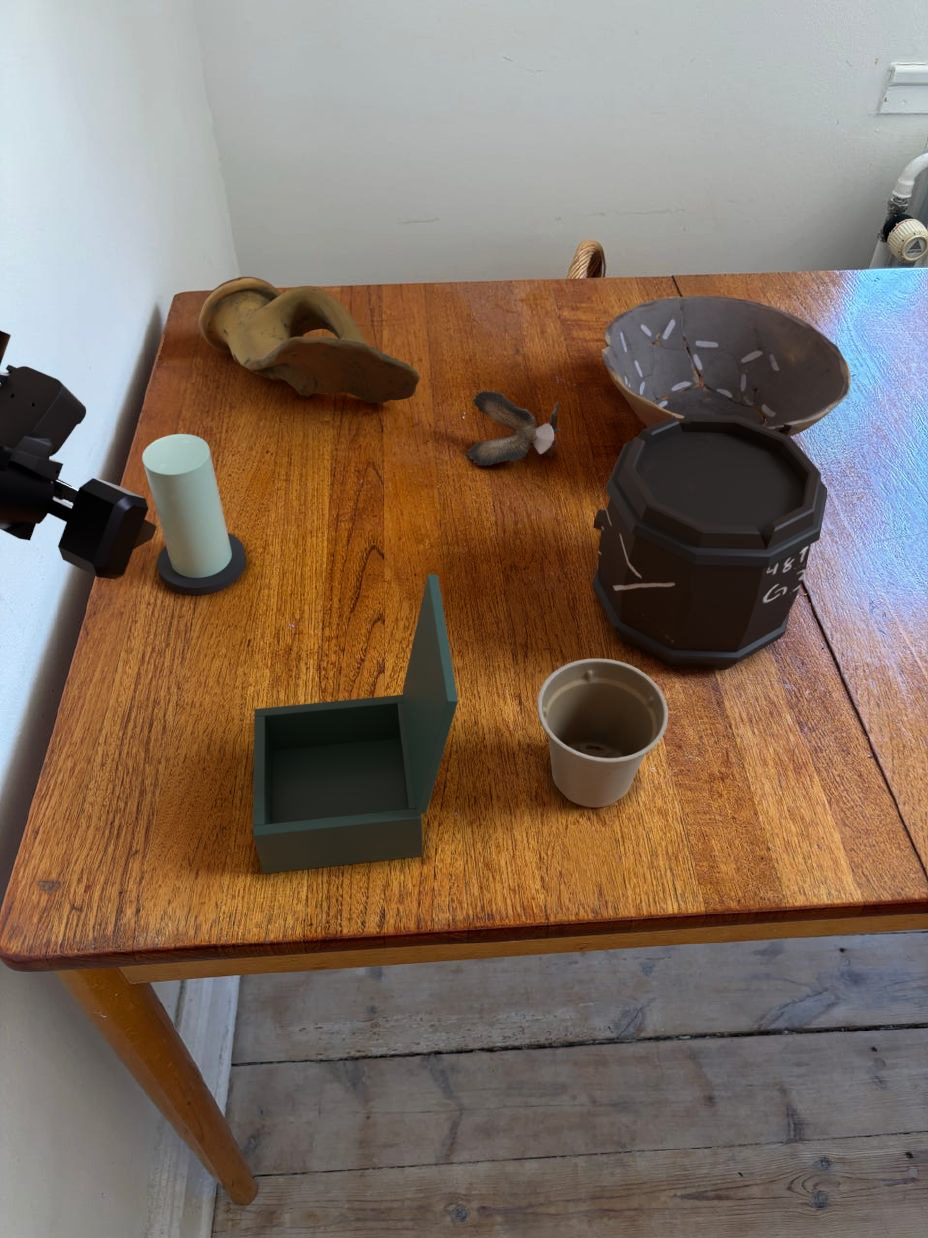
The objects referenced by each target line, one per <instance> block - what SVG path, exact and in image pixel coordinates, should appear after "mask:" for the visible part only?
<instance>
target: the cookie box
mask: <svg viewBox="0 0 928 1238" xmlns="http://www.w3.org/2000/svg"><path fill="white" fill-rule="evenodd" d="M253 713H254V714H253V715H254V718H253V720H254V723H253V725H254V727H253V799H252V804H253V805H252V806H253V807H252V810H253V811H252V812H253V813H252V837H253V841H254V844H255V848H256V852H257V855H258V860H259V863H260V866H261V871H262V873H263V874H264V875H266V874H274V873H275V874H276V873H284V872H292V871H293V872H294V871H301V870H311V869H317V868H318V869H319V868H320V869H321V868H326V867H327V868H328V867H336V866H347V865H356V864H364V863H365V864H366V863H372V862H381V861H391V860H399V859H400V860H401V859H409V858H410V859H411V858H417V857H419V858H420V857H423V856H424V847H423V843H424V842H423V818H422V814H417V811H416V803H415V794H414V786H413V777H412V768H411V760H410V751H409V743H408V734H407V725H406V717H405V708H404V700H403V694H395V695H383V696H374V697H363V698H353V699H343V700H332V701H322V702H321V701H320V702H313V703H312V702H310V703H301V704H292V705H291V704H289V705H280V706H279V705H278V706H269V707H260V708H254V711H253Z"/></svg>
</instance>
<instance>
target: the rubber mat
mask: <svg viewBox="0 0 928 1238" xmlns="http://www.w3.org/2000/svg"><path fill="white" fill-rule="evenodd" d="M228 537H229V542H230V546H231V551H232V556H231V560H230V562H229V563H228V565H227V566H226V567H225V568H224V569H223V570H221V571H220V572H218V573H216V574H214V575H211V576H208V577H203V578H190V577H186V576H183V575H180V574H179V573H177V572H176V571H175V570H174V569H173V567H172V565H171V562H170V558H169V555H168V551H167V547H166V545H164V547H162V549H161V551H160V552H159V555H158V558H157V570H158V572H159V576H160V580H161V581H162V582H163V583H164V584H165V586H167V587H168V588H169V589H171V590H172V591H174V592H177V593H179V594H183V595H188V596H202V595H209V594H213V593H218V592H219V591H222V590H224V589H226V588H228V587H230V586H231V585H233V584H234V583H235V582H237V580H238V579H240V577H241V576H242V574H243V573H244V571H245V568H246V564H247V557H246V551H245V547H244V544H243V543H242V542H241V541H240V539H239V538H238V537H236V536H235V535H234V534H232V533H230V532H228Z"/></svg>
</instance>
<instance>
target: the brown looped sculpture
mask: <svg viewBox="0 0 928 1238" xmlns="http://www.w3.org/2000/svg"><path fill="white" fill-rule="evenodd" d="M198 326H199V329H200V333H201V335H202V336H203V339H205V341H206V342H207V343H208V344H209V345H210V346H211V347H212V348H213V349H216V350H218V351H220V352H221V353H222V352H223V353H226V354H231V355H232V358H233V360H234V361H235V363H237V364H238V365H240V366H242V367H244V368H246V369H247V370H249V371H250V372H251V373H254V374H256V375H258V376H261V377H265V378H269V379H270V380H272V381H281V380H283V381H286V382H287V384H288V385H290V386H291V387H292V388H294V390H295V391H296V392H297V393H298V394H299V395H300V396H302V397H306V398H307V397H311V396H312V395H314V394H330V395H333V394H343V393H344V394H349V395H352V396H354V397H357V398H358V399H359V398H360V399H361V400H362V401H365V402H367V403H370V404H383V403H388V402H389V401H403V400H407V399H410V398H411V397H413V396H414V395H415V392H416V390H417V386H418V384H419V382H420V380H421V375H420V373H419V372H418V371H417V370H416V369H415V368H414V366H412V365H411V364H408V363H406V362H405V361H402V360H400V359H398V358H396V357H393V356H391V355H389V354H386V353H384V352H382V351H381V350H378V349H377V348H375V347H374V346H372V345H370V344H368V342H367V341H366V339H365V338H364V336H363V334H362V332H361V329H360V328H359V326H358V323H357V322H356V321H355V319H354V317H353V316H352V314H351V313H350V312H349V310H348V309H347V308H346V306H345V305H344V304H343V303H342V302H341V301H340V300H339V299H338V298H337V297H336V296H334V294H332V293H330V292H329V291H327V290H326V289H324V288H321V287H317V286H313V285H300V286H296V287H293V288H289V289H287V290H286V291H284V292H282V293H281V292H280V291H279V290H278V289H277V288H276V287H275V286H274V285H272V284H271V283H270V282H268V281H266V280H264V279H261V278H258V277H255V276H254V277H253V276H239V277H237V278H232V279H230V280H227V281H225V282H222V283H221V284H219V285H218V286H217V287H215V288H214V289H213V290H212V291H211V292H210V293H209V295H208V296H207V297H206V299H205V300H204V303H203V305H202V308H201V311H200V313H199V318H198ZM317 330H327V331H328V332H330V333H331V334H333V335H334V336H335V337H329V336H321V335H314V336H313V335H311V336H305V335H306V334H307V333H310V332H312V331H317Z"/></svg>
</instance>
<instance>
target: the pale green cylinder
mask: <svg viewBox="0 0 928 1238" xmlns="http://www.w3.org/2000/svg"><path fill="white" fill-rule="evenodd" d="M141 461H142V464H143V468H144V471H145V475H146V478H147V483H148V486H149V489H150V493H151V497H152V500H153V504H154V507H155V511H156V515H157V517H158V522H159V525H160V530H161V533H162V537H163V540H164V543H165V546H166V547H167V551H168V555H169V558H170V562H171V565H172V567H173V569H174V570H175V571H176V572H177V573H179V574H180V575H183V576H186V577H190V578H203V577H208V576H211V575H214V574H216V573H218V572H220V571H221V570H223V569H224V568H225V567H226V566H227V565H228V563H229V562H230V560H231V556H232V551H231V546H230V542H229V537H228V533H229V532H228V528H227V524H226V519H225V514H224V510H223V505H222V500H221V496H220V491H219V487H218V486H219V485H218V481H217V477H216V473H215V469H214V464H213V463H214V462H213V458H212V453H211V449H210V446H209V444H208V443H207V442H206V440H204V439H203V438H201V437H199V436H197V435H193V434H188V433H176V434H175V433H174V434H170V435H166V436H162V437H161V438H157V439H156V440H154V441H153V442H151V443H150V444H149V445H148V446H146V448H145V449H144V451H143V453H142V457H141Z"/></svg>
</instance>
